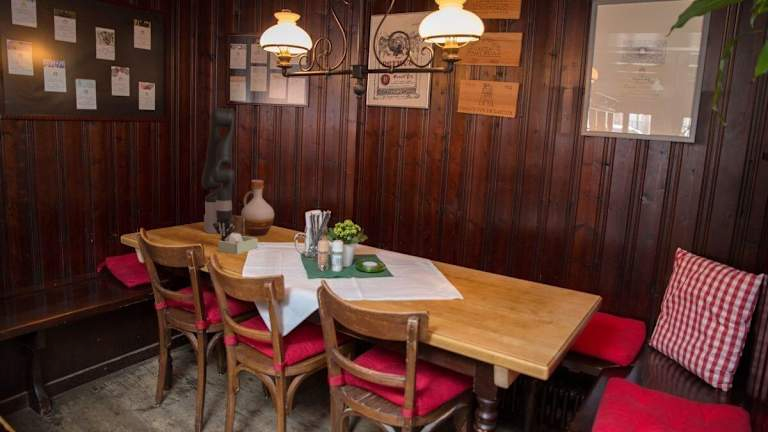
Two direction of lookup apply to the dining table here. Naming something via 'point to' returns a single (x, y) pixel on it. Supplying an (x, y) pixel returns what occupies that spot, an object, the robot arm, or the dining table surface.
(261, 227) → the jug
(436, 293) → the dining table surface
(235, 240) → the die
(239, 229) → the menu board
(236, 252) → the tray
